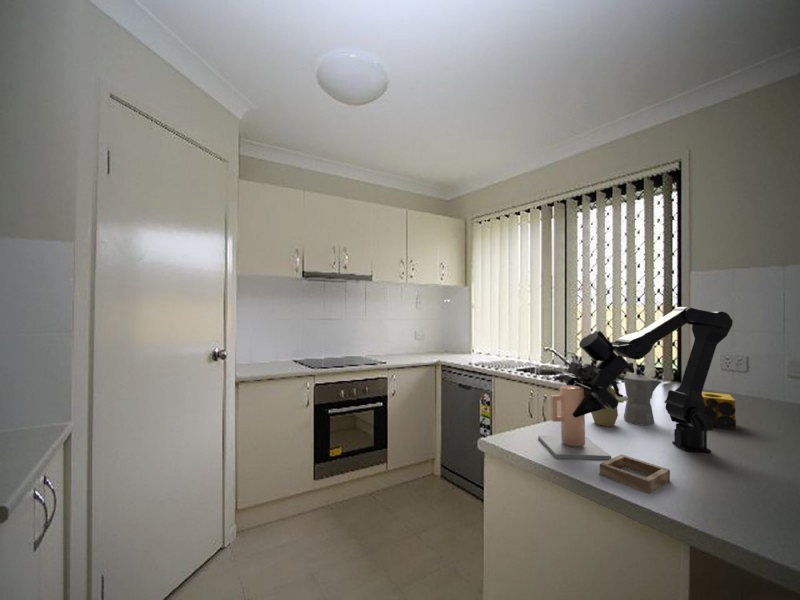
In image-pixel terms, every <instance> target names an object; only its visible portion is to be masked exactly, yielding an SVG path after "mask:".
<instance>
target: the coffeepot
mask: <svg viewBox="0 0 800 600" xmlns="http://www.w3.org/2000/svg"><path fill="white" fill-rule="evenodd" d="M635 371H636V372H635V373H636V374H628V375H627V374H623V373H622V374H621V375H620V376H619V377H618V378H617V379H616V380H615V381H614V382H615V383H616V385H615V386H614V387H613V386H612V388H613V389H614V390H615V393H616V397H618V398H623V397H624V394H621V393H620V389H619V386H618V382H617V380H621V381H624V388H625V395H626V396H627V400H626V403H625V407H624V413H623V419H624V421H625V422H628V423H629V422H630V424H632V425H639V426H652V425H655V424H656V423H655V418H654V413H653V407H652V404H651V399H653V393H654V391H655V390H656V388H658V386H659V385H660V384H662V383H663V382H662V381H661V380H659V379H655V378H652V377H650V376H646V375H643V374H642V370H641V369H639V368H637V369H635Z"/></svg>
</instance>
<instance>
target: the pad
mask: <svg viewBox="0 0 800 600" xmlns="http://www.w3.org/2000/svg"><path fill="white" fill-rule="evenodd" d="M537 438H538V441H539V442H540V443H541V444H543V446H544V447H545V448H546V449H547V450H548V451H549V452H550V453H551V455H552V456H553V457H554V458H555V459H571V460H572V459H575V458H578V459H577V460H603V459H612V455H610V453H608V452H607V451H605V450H604V449H603V448H601V446H599V445H598V444H597V443H595V442H594V441H592V440H591V439H590V438H589V437H587V436H585V445H584V446H571V445H567V444H564V443H563V442H562V441H561V435H538V437H537ZM575 460H576V459H575Z"/></svg>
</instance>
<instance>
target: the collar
mask: <svg viewBox="0 0 800 600" xmlns="http://www.w3.org/2000/svg"><path fill="white" fill-rule="evenodd" d="M623 467H624V468H625V467H626V468H625V469H628V468H629V469H628V470H632V471H634V472H636V471H637V473H639V472H640V474H642V473H643V474H642V475H645V474H646V475H645V477H644V476H641V475H638V474H635V473H633V472H630V471H627V470H625V469H624V468H623ZM598 468H599V469H598V470H599V473H598V474H599V475H600V476H602V477H605V478H608V479H611V480H613V481H616V482H618V483H621V484H623V485H625V486H629V487H632V488H634V489H636V490H639V491H642V492H644V493H647V494H651V493H652V492H653V491H655V490H658V489H659V488H661V487H662V486H664V485H666V484H667V483H669V482H670V481H671V479H670V478H671V470H670V469H668V468H666V467H663V466H658V465H657V464H654V463H650V462H646V461H644V460H640V459H638V458H634V457H631V456H628V455H625V454H619V455H617V456H614V457H611V459H609V460H604V461H603V462H600V463H599V467H598ZM621 468H622V469H621ZM623 469H624V470H623ZM668 481H669V482H668ZM666 482H667V483H666ZM665 483H666V484H665ZM663 484H664V485H663ZM660 486H661V487H660ZM658 487H659V488H658Z"/></svg>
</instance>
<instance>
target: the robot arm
mask: <svg viewBox="0 0 800 600" xmlns="http://www.w3.org/2000/svg"><path fill="white" fill-rule="evenodd" d="M733 321H734V320H733V319H732V317H731V316H730V314H728V313H727V312H726V311H719V310H718V311H713V310H712V311H711V310H710V311H709V310H708V311H707V310H702V309H697V308H694V307H690V306H678V307H675V308H673V309H672V311H670V312H668V313H667V314H666V315H664V316H662V317H661V318H659V319H658V320H655V321H654V322H652V324H649V325H647V326H646V327H644V328H643V329H641V330H639V331H636V332H632V333H629V334H625V335H623V336H620V337H619V338H617V339H615V341H610V340H609V339H608V338H607V337H606V336H605V334H604V333H603V332H602V331H601V330H595V331H594V332H593V333H590V334H587V336H584V337H583V338H582V339H581V340H580V341H579V344H578V345H579V347H580V348H581V349H582V350H583V352H585V353H586V354H587V355H588V357H589V358H591V359H592V360H593V361H595V362H598V361H599V363H598V364H597V365H596V366H594V365H591V364H589V363H585V364H580V363H577V362H573V361H570V363H569V366H568V368H567V370H566V372H567V373H568V374H572V375H566V376H565V378H564V379H562V381H563V382H564V383H565V384H566V386H578V387H582V388H584V399H583V401H582V402H581V403H580V405H579V406H578V407H577V408H576V410H575V411H574V413H573V414H572V415H573V416H574V417H575V418H576V417H579V416H582V415H585V416H586V415H587V414H590V413H591V412H594V411H598V410H601V409H606V408H605V407H604V406H605V405H606V407H607V408H609V409H611V410H614V409H615V408H616V407H617V408H618V406H619V399H618V398H617V397H616V398H615V397H614V396H613V395H612V394H611V393H610V392H609V391H608V390H607V389H608V388H609V386H612V388H613V387H614V386H615V385H616V383H615V382H614V381H615V380H616V381H617V380H618V379H617V378H618V377H619V376H620V375H621V374H623V373H624V372H627V373H631V374H634V373H635V368H634V363H633V362H631V361H627V360H626V359H625V358H627V359H631V360H637V361H638V360H641V359H644V357H646V356H647V355H648V354H649V353H650V352H651V351H652V349H653V347H654V346H655V344H656V343H658V342H660V341H661V340H662V339H664V338H666V337H667V336H670V335H671V334H672V333H673V332H675V331H677V330H678V329H680V328H681V327H683V326H684V325H689V326H690V325H691V331H692V334H693V337H694V342H693V344H692V347H691V350H690V353H689V357H688V359H687V364H686V367H685V369H684V373H683V375H682V379H681V382H680V386H679V387H678V388H676V389H675V390H673V389H669V390H668V392H667V397H666V399H665V401H664V403H665V410H666V411H667V413H668V415H669V417H670V421H672V422H673V423H675V428H674V432H673V433H674V440H673V441H671V444H673V445H675V446H677V447H679V448H680V449H682V450H684V451H686V452H692V453H693V452H696V453H712V449H710V448H708V442H707V439H708V438H707V434H708V433H707V432H709V431H710V432H711V431H712V430H713V429H714V428H713V426H714V423H713V422H712V421H711V420H710V419H709V418H708V417H707V416H706V415H705V414H704V409H705V403H704V399H703V396H702V392H703V390H704V387H705V384H706V380H707V377H708V374H709V371H710V367H711V364H712V361H713V358H714V356H715V355H714V354H715V352H716V349H717V346H718V344H719V343H720V342H721V341H722V340H724V339H725V338H726V337H727V336H728V335H729V332H730V330H731V329H732V326H733Z"/></svg>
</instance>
